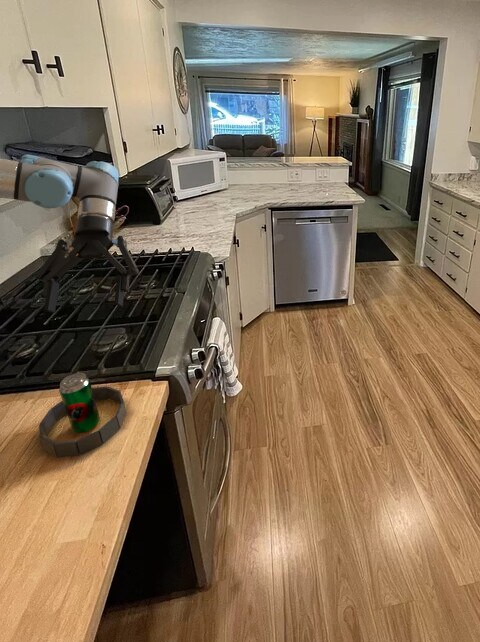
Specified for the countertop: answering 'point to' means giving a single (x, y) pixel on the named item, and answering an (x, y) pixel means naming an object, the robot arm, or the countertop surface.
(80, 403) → the soda can
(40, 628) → the countertop surface
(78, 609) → the countertop surface
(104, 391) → the gray segmented ring
